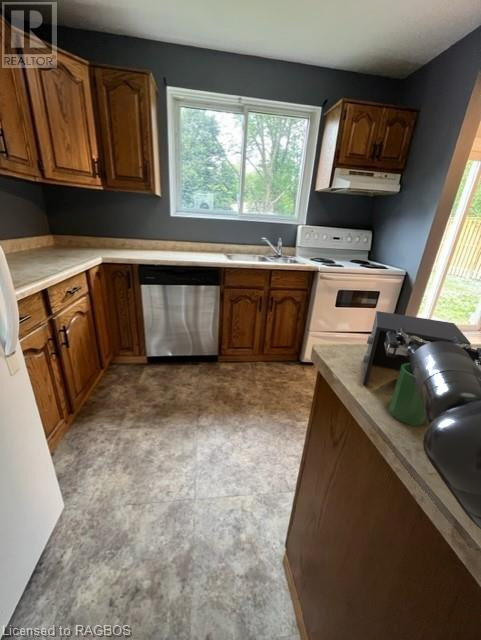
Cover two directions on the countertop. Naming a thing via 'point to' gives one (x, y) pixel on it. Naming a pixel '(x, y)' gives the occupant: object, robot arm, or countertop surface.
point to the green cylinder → (407, 399)
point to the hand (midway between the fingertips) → (427, 336)
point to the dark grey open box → (413, 327)
